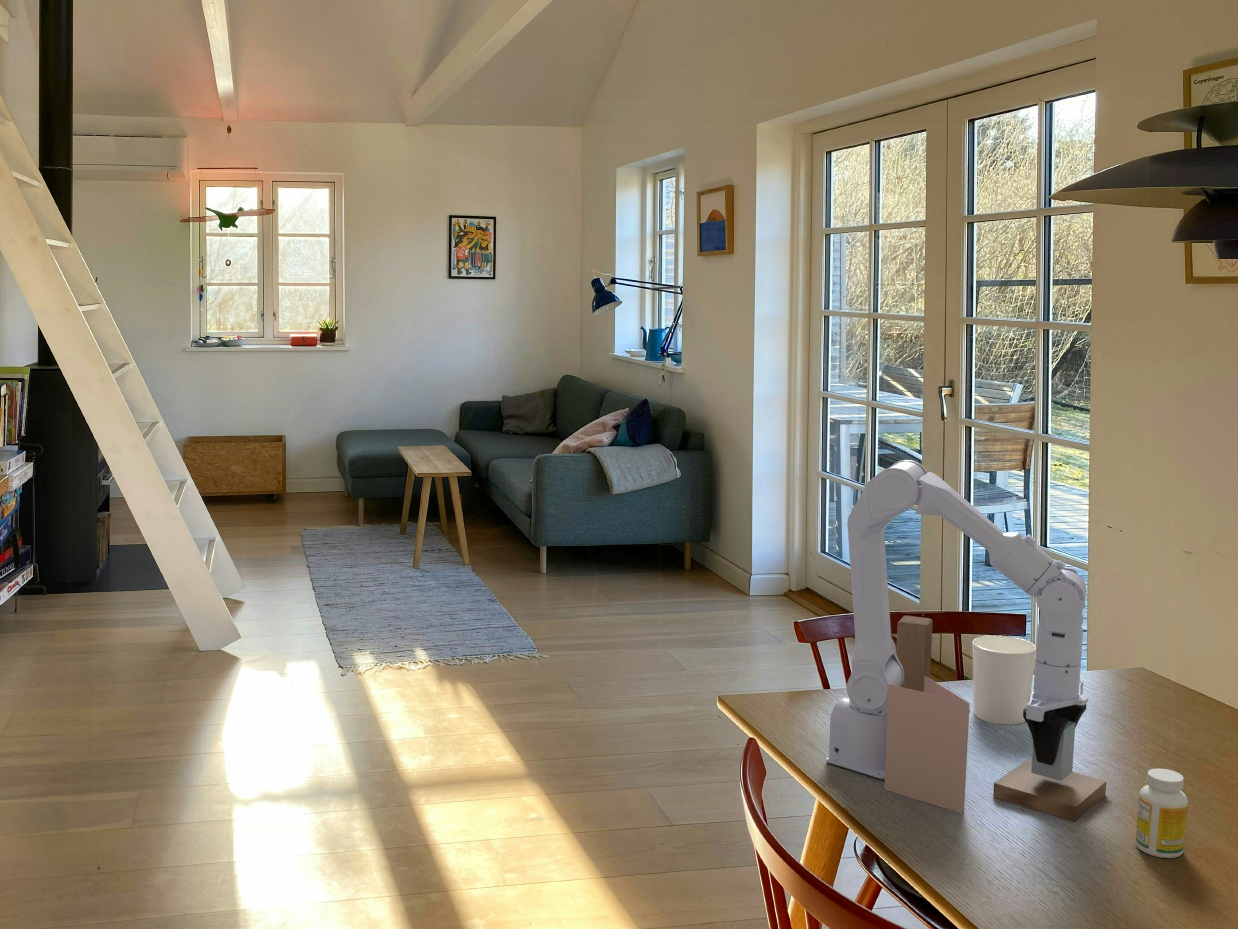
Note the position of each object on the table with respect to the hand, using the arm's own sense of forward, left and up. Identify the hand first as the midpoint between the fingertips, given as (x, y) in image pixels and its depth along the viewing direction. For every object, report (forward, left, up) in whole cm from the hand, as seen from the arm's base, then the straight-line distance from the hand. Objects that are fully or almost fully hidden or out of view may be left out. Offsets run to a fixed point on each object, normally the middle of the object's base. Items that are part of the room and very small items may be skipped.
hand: (1051, 758), depth 156 cm
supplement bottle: (+16, -6, -6) cm, 18 cm away
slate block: (0, 0, -2) cm, 2 cm away
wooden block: (-23, +9, -6) cm, 25 cm away
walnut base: (0, 0, -5) cm, 5 cm away
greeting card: (-12, -12, -6) cm, 18 cm away
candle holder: (-18, +25, -6) cm, 31 cm away
